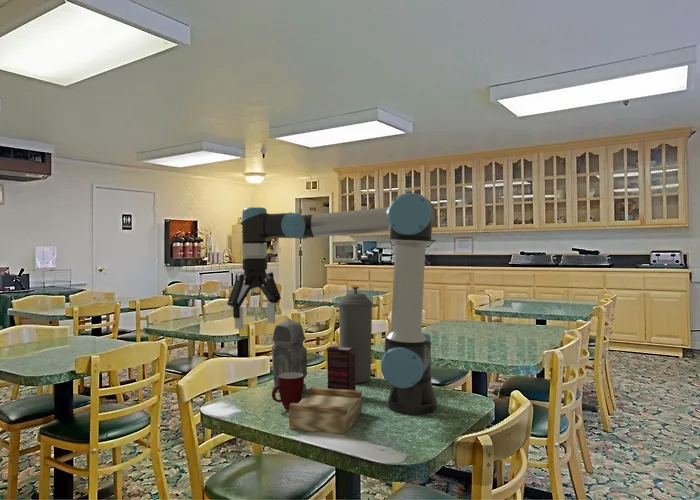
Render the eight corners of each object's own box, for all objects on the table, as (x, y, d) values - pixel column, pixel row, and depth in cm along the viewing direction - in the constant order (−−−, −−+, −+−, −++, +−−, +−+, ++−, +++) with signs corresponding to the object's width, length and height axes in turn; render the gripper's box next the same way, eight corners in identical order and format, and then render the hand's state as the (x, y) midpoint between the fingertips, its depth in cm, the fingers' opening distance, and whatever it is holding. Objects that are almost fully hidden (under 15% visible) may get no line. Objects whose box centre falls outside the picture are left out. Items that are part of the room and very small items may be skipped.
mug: (282, 415, 149) (282, 381, 149) (266, 409, 155) (265, 377, 154) (309, 407, 156) (309, 375, 156) (293, 401, 162) (292, 370, 162)
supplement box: (356, 394, 170) (355, 347, 169) (349, 398, 165) (348, 350, 165) (334, 391, 174) (334, 345, 174) (326, 394, 170) (326, 347, 170)
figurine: (296, 396, 168) (296, 321, 167) (265, 390, 176) (265, 318, 176) (314, 389, 176) (314, 318, 175) (284, 383, 184) (284, 315, 184)
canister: (334, 383, 183) (334, 287, 183) (344, 374, 196) (343, 285, 196) (368, 385, 180) (368, 288, 180) (376, 376, 192) (375, 285, 192)
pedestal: (361, 412, 151) (361, 390, 151) (345, 433, 134) (344, 409, 134) (311, 408, 156) (311, 387, 155) (289, 428, 138) (288, 404, 138)
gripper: (274, 256, 168) (275, 320, 168) (214, 258, 148) (215, 330, 148) (291, 256, 164) (291, 321, 164) (231, 258, 144) (232, 332, 144)
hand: (255, 326), depth 156 cm, fingers open, 13 cm apart
